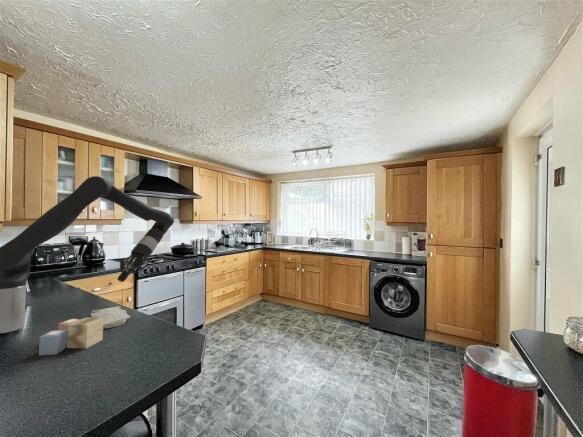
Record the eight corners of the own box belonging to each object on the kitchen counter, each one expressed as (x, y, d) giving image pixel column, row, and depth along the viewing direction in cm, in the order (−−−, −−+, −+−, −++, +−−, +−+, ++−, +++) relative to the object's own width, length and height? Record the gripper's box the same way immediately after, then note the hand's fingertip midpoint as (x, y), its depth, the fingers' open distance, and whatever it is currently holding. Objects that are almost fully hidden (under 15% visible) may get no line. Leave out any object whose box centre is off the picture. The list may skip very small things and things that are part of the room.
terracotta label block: (57, 339, 93) (58, 322, 93) (72, 334, 98) (73, 318, 98) (67, 341, 92) (68, 324, 92) (82, 335, 97) (82, 319, 97)
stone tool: (88, 317, 118) (95, 332, 100) (89, 308, 118) (96, 322, 100) (121, 311, 127) (133, 324, 109) (122, 303, 127) (133, 315, 109)
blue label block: (38, 355, 82) (39, 336, 82) (50, 348, 87) (51, 330, 87) (56, 354, 83) (57, 335, 83) (67, 347, 87) (67, 329, 88)
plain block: (67, 347, 87) (68, 324, 87) (84, 338, 94) (85, 317, 94) (86, 348, 87) (87, 325, 87) (102, 339, 94) (103, 318, 94)
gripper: (128, 241, 114) (101, 274, 103) (152, 243, 111) (127, 277, 99) (138, 251, 120) (113, 283, 108) (161, 253, 116) (138, 287, 104)
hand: (120, 280), depth 104 cm, fingers closed
